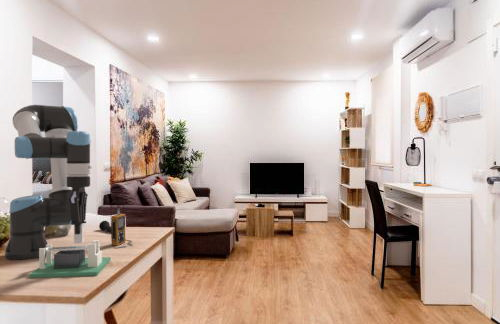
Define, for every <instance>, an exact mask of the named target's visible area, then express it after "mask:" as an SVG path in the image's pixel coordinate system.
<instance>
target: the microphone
mask: <svg viewBox="0 0 500 324" xmlns="http://www.w3.org/2000/svg"><path fill="white" fill-rule="evenodd" d="M98 226H99V230H101V231H105V232H107V233H110V234H111V223H110V222H109V221H108V220H103V221H101V222H100V223H99V224H98Z"/></svg>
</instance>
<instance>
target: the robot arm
mask: <svg viewBox="0 0 500 324" xmlns="http://www.w3.org/2000/svg"><path fill="white" fill-rule="evenodd" d="M12 126H13V127H14V130H16V131H17V135H18V136H17V137H15V138H14V155H15V158H18V159H25V160H28V159H50V171H51V186H52V190H51V191H50V192H49V193H48V197H45V195H44V194H32V195H31V194H30V195H25V196H20V197H17V198H14V199H12V200H11V201H10V203H9V238H8V241H7V245H6V247H5V250H4V259H7V260H12V261H13V260H17V261H18V260H28V259H35V258H39V249H40V248H45V247H46V245H47V244H49V243H48V241H47V239H46V238H45V235H44V230H45V227H47V226H59V225H70V224H71V226H73V244H83V243H84V224H87V220H86V216H87V203H88V202H87V201H88V196H89V195H88V193H87V192H86V189H85V188H88V187H90V186H91V177H90V174H91V169H92V166H91V138H90V137H91V136H90V133H89V131H81V130H78V126H79V125H78V117H77V114H76V110H74V108H72V107H69V106H64V105H62V106H58V105H57V106H56V105H44V104H30V105H27V106H23V107H21V108H19V110H17V111H16V112H15V113H14V114H13V116H12ZM42 132H44V137H43V134H42ZM45 256H46V252H45Z"/></svg>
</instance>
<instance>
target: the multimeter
mask: <svg viewBox="0 0 500 324" xmlns="http://www.w3.org/2000/svg"><path fill="white" fill-rule="evenodd" d="M120 200H121V201H122V203H123V204H122V205H123V207H122V213H121V212H120V209H121V208H120V207H118V208H117V212H116V214H115V215H111V222H110V226H111V233H110V236H111V237H110V238H111V246H112V248H113V249H116V246H118V247H117V249H120V248H126V247H130V246H135V245H134V244H133V243H132V240H128V239H126V214H125V210H124V209H125V203H124V199H121V198H118V200H115V202H116V204H117V205H119V203H120ZM113 203H114V201H112V202H111V204H110V209H112V206H113ZM125 242H127V244H128V245H122V246H119V245H121V244H124V243H125Z"/></svg>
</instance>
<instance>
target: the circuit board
mask: <svg viewBox="0 0 500 324" xmlns="http://www.w3.org/2000/svg"><path fill="white" fill-rule="evenodd" d="M100 241H101V240H98V239H97V240H96V239H95V240H92V241H91V243H88V244H87V246H88V249H87V257H85V262H84V263H83V264H82V265H81V266H80V267H79V268H69V269H53V266H54V258H53V251H47V252H46V255H45V248H40V249H39V257H38V258H39V259H38V260H39V261H38V263H39V264H38V266H39V267H37V268H36V269H35V270H34V271H32V272H31V273H29V278H30V279H34V278H35V279H36V278H37V279H39V278H60V277H61V278H64V277H66V278H67V277H92V276H93V277H94V276H95V277H96V276H98V275H100V273H101V271H103V269H104V268H105V267H106V266H107V265H108V264H109V263H110V261H111V257H110V256H108V257H105V256H104V257H103V250H100V247H101V246H100V245H101V244H100V243H101V242H100ZM46 246H50V248H51V247H53V244H52V243H50V244H49V243H48V244H47V245H46Z"/></svg>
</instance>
